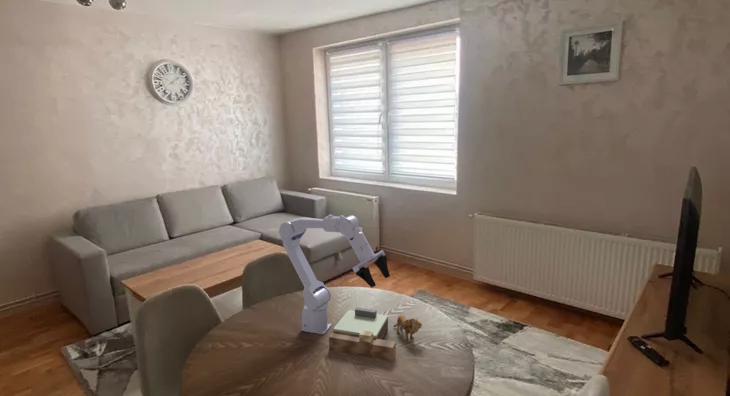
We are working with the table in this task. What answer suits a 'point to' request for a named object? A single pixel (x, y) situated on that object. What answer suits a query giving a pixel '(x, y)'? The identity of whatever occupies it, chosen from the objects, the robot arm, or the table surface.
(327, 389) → the table surface
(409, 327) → the lion figurine
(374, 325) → the lid
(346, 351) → the wooden box
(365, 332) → the wooden key
